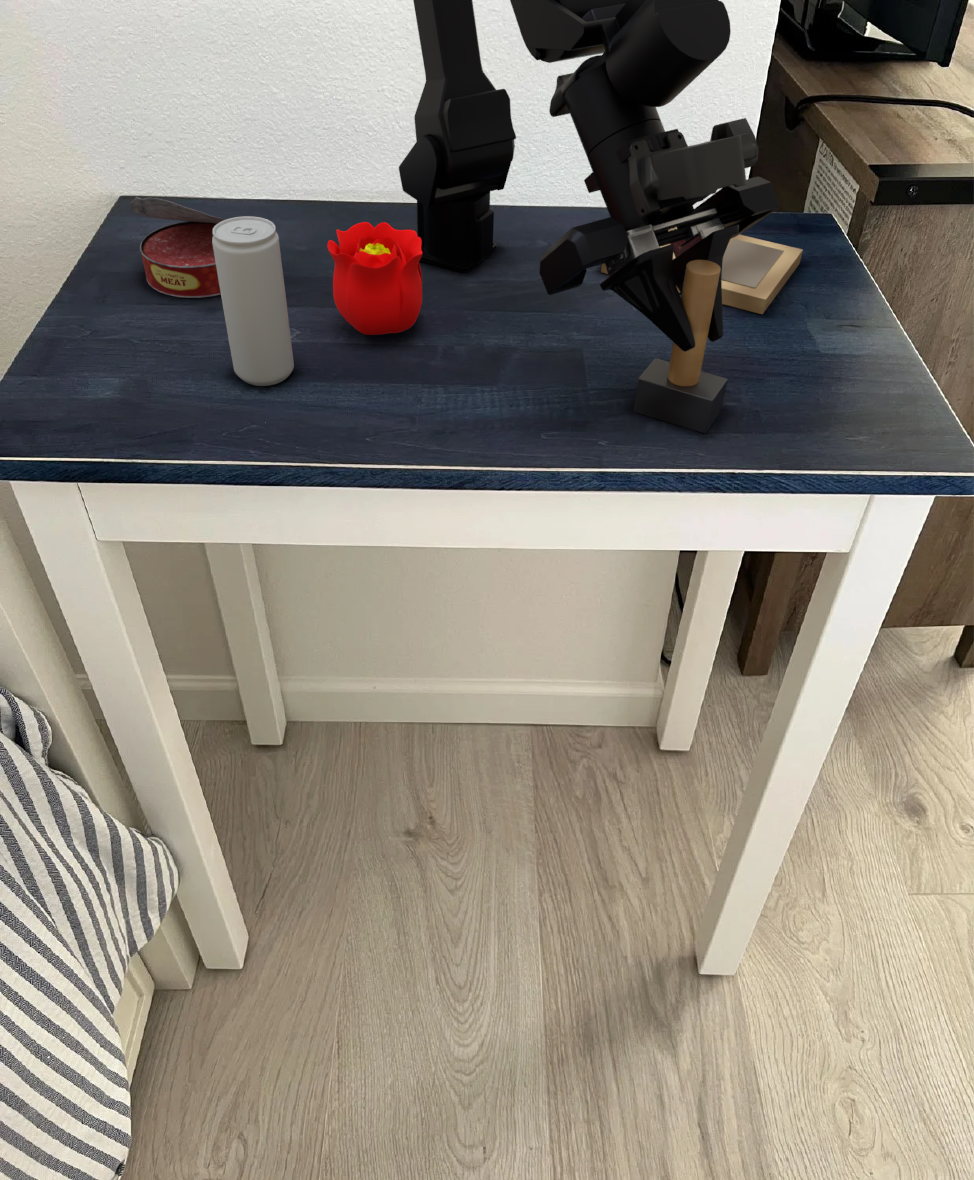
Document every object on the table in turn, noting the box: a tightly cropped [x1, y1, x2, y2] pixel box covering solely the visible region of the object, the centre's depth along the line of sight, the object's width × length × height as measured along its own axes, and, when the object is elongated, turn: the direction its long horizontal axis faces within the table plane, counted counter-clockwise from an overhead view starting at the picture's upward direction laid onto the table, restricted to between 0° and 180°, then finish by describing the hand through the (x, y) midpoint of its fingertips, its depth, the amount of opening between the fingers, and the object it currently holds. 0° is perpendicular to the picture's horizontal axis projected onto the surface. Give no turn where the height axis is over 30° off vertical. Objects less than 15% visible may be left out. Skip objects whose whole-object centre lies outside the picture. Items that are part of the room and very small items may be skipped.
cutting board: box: [600, 227, 804, 315], centre depth 97 cm, size 16×12×2 cm
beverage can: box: [212, 215, 295, 387], centre depth 78 cm, size 5×5×12 cm
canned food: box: [129, 196, 226, 299], centre depth 92 cm, size 11×10×10 cm
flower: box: [327, 221, 423, 336], centre depth 85 cm, size 8×8×8 cm
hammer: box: [633, 260, 729, 434], centre depth 75 cm, size 6×4×12 cm, turn 61°
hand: (703, 344), depth 74 cm, fingers closed on hammer, 2 cm apart
